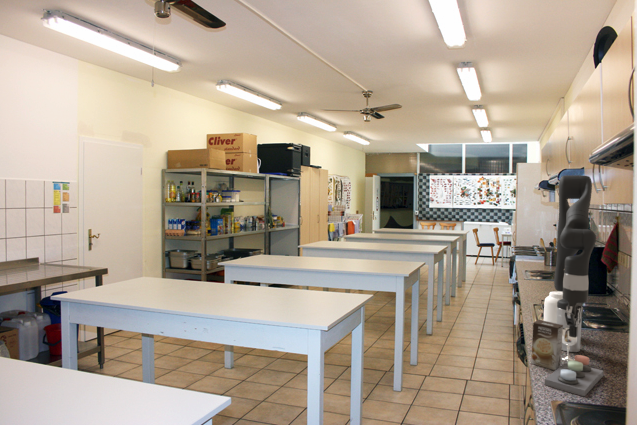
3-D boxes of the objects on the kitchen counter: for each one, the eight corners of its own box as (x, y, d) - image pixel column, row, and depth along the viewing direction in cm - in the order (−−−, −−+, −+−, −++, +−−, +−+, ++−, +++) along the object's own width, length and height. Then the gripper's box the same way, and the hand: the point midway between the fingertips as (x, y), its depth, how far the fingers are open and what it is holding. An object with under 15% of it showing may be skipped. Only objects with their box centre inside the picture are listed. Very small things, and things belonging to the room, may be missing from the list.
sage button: (569, 365, 160) (570, 359, 160) (584, 368, 157) (584, 363, 157) (565, 368, 157) (566, 362, 157) (580, 372, 154) (580, 366, 154)
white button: (562, 373, 155) (563, 368, 154) (577, 377, 151) (577, 372, 151) (558, 377, 151) (558, 371, 151) (573, 381, 148) (573, 375, 148)
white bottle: (573, 340, 201) (575, 296, 200) (542, 336, 207) (544, 293, 206) (573, 333, 212) (575, 291, 211) (543, 329, 218) (545, 288, 217)
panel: (566, 366, 170) (566, 359, 170) (603, 376, 162) (603, 368, 161) (544, 384, 153) (544, 376, 153) (584, 396, 144) (584, 387, 144)
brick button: (576, 359, 166) (576, 354, 166) (590, 362, 163) (590, 357, 163) (572, 362, 163) (572, 357, 163) (587, 366, 159) (587, 360, 159)
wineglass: (578, 362, 174) (579, 332, 174) (562, 361, 175) (563, 330, 175) (573, 357, 180) (574, 327, 179) (557, 356, 181) (558, 326, 181)
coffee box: (530, 363, 172) (531, 322, 172) (536, 359, 177) (538, 319, 176) (555, 370, 166) (557, 327, 165) (561, 366, 170) (563, 324, 170)
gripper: (569, 282, 161) (567, 329, 162) (557, 288, 152) (555, 338, 153) (593, 285, 156) (590, 334, 157) (582, 292, 146) (579, 344, 147)
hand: (573, 336), depth 155 cm, fingers closed
